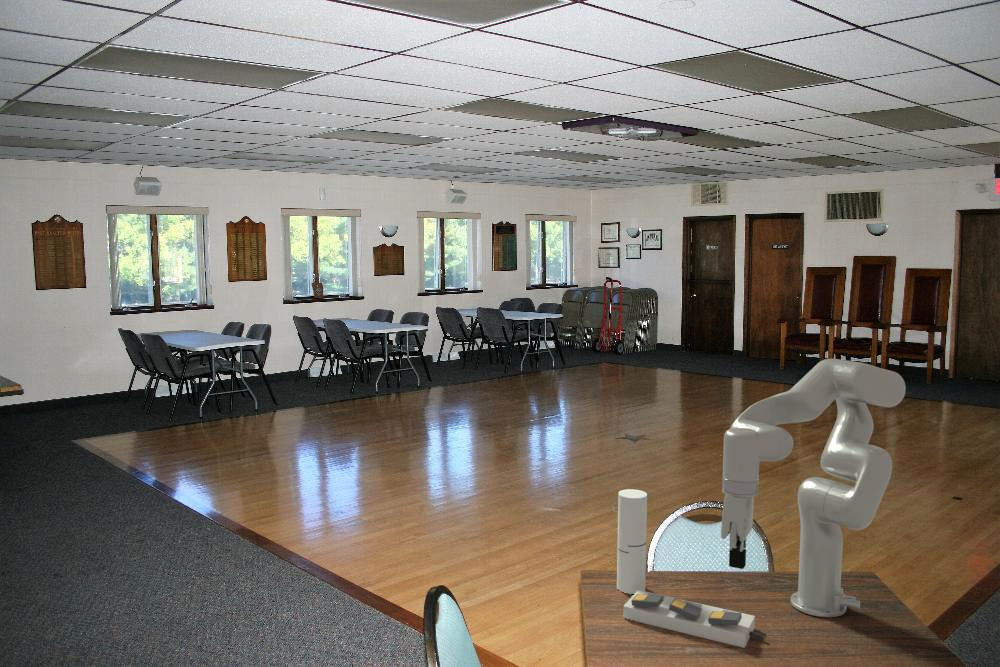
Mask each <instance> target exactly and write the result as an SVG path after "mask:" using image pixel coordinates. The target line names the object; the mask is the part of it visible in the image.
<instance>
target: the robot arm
mask: <svg viewBox="0 0 1000 667" xmlns="http://www.w3.org/2000/svg"><path fill="white" fill-rule="evenodd" d="M905 395H906V383H905V380H904V378H903V377H902V376H901V375H900V374H899V373H898V372H896V371H893V370H889V369H885V368H882V367H878V366H875V365H872V364H868V363H864V362H860V361H859V362H858V361H854V360H853V361H852V360H846V359H839V358H838V359H837V358H827V359H826V358H825V359H822V360H820V361H819V362H817V363H816V365H814V367H812V369H810V370H809V371H808V372H807V373H806V374H805V375H804V376H802V378H801V379H800V380H798V381H797V383H795V384H794V385H793V386H792V388H790V389H789V390H787V391H784V392H781V393H777V394H774V395H772V396H769V397H766V398H764V399H761V400H759V401H757V402H754V404H753V403H752V405H750V406H749V407H747V408H746V409H745V410H744V411H743V412H742V413H741V414H740V415H738V417H737V418H736V419H735V420H734V421H733V422H732V424H731V425H730V428H729V429H726V431H724V433H723V447H722V448H723V453H722V479H721V482H722V484H721V485H722V486H721V492H722V493H724V494H725V495H724V499H723V506H722V515H721V516H722V517H721V529H720V530H721V531H720V537H721V539H722V540H723V539H726V538H727V537H728V536H729V556H728V557H729V558H728V559H729V560H728V561H729V562H728V566H729V567H731V568H735V569H740V570H744V569H745V567H746V563H747V561H746V560H747V539H748V538H747V537H748V536H749V534H751V532H752V529H753V524H754V499H755V498H754V497H757V496H758V495H759V479H760V478H759V477H760V476H759V474H760V463H761V462H778V461H779V462H780V461H783V460H784V459H786V458H787V457H788V456H790V455H791V453H792V451H793V449H794V439H793V435H791V433H790V432H789V431H787V430H786V429H785V428H782V427H779V426H778V425H783V424H797V423H798V424H799V423H804V422H810V421H814V420H815V419H817V418H819V416H820V415H821V414H823V413H824V411H825V410H826V409H828V407H829V406H831V404H832V403H833V402H834V401H835V403H836V407H837V408H836V409H837V415H836V421H835V423H834V425H833V428H832V430H831V431H830V434H829V437H828V439H827V442H826V444H825V445H824V449H823V451H822V452H821V456H820V468H821V469H822V470H823V472H825V473H826V474H828V475H830V476H832V477H835V478H838V479H842V480H845V481H849V482H852V483H855V485H854V486H852V485H850V484H846V483H843V482H840V481H836V480H832V479H828V478H825V477H819V476H813V477H809V478H806V479H805V480H803V481H802V482H801V484H800V485H799V487H798V490H797V504H798V510H799V511H798V512H799V520H800V536H799V537H800V538H799V539H800V540H799V557H798V558H799V559H798V562H799V563H798V564H799V565H798V581H797V582H798V584H797V586H798V587H797V591H795V592H794V593H792V595H791V596H790V604H791V605H792V606H793V607H794V608H795V609H796V610H798V611H800V612H802V613H803V614H808V615H810V616H815V617H818V618H820V617H821V618H835V617H837V618H838V617H840V616H842V615H844V614H845V613H846V612H847V608H848V607H849V608H851V609H856V610H860V608H861V600H857V599H856V598H857V597H856V596H853V595H847V594H846V593H844V588H843V587H841V586H842V582H841V581H842V565H843V564H842V563H843V549H844V548H843V546H844V540H843V539H844V537H843V533H842V529H841V527H844V528H847V529H851V530H855V531H862V530H865V529H866V528H868V527H869V526H870V525H871V523H872V522H873V520H874V518H875V516H876V513H877V512H878V509H879V506H880V504H881V501H882V499H883V497H884V495H885V491H886V489H887V487H888V485H889V482H890V480H891V477H892V472H893V460H892V457H891V455H890V453H889V451H887V450H886V449H884V448H882V447H880V446H877V445H873V444H869V442H870V441H871V437H872V435H873V432H874V428H875V427H874V421H873V417H872V414H871V412H870V410H869V408H868V405H872V406H879V407H882V408H893V407H896V406H898V404H900V403H901V402H902V401H903V399H904V398H905Z"/></svg>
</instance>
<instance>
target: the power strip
mask: <svg viewBox="0 0 1000 667" xmlns="http://www.w3.org/2000/svg"><path fill="white" fill-rule="evenodd" d="M637 594H647V595H660V594H658V593H654V592H650V591H646V590H645V591H641V590H637V591H636V593H635V594H634V595H631V597H630V598H629V599H628V600H627V602H625V603H624V605H623V611H622V612H623V614H622V619H625V618H626V619H625V620H629V619H630V620H629V621H633V620H634V621H633V622H637V623H642V624H646V625H650V626H653V627H658V628H661V629H665V630H670V631H674V632H677V633H681V634H687V635H691V636H693V637H694V636H695V637H699V638H703V639H707V640H709V641H710V640H711V641H715V642H719V643H723V644H726V645H732V646H735V647H740V648H743V649H745V648H746V646H747V644H748V643H749V641H750V638H751V637H753V638H757V639H760V640H764V639H765V634H762V633H759V632H755V631H754V630H755V628H756V625H755V624H756V616H755V615H753V614H748V613H743V612H740V611H735V610H729V609H724V608H721V607H717V606H712V605H707V604H702V603H700V602H694V601H690V600H686V599H681V598H677V597H674V596H673V597H672V596H667V595H664V594H662V595H663V599H664V601H663V602H662V603H661V604H660V606H659V607H647V606H632V602H631V600H632V599H633V598H634V597H635V596H636V595H637ZM675 598H676V599H679V600H681V601H684V602H686V603H689V604H691V605H694V606H696V607H699V608H701V609H702V610H701V614H700V615H699V617H698V618H697V620H693V619H691V618H688V617H686V616H683V615H681V614H678V613H676V612H673V611H671V610H669V606H670V604H671V603H672V601H673V600H674V599H675ZM713 611H718V612H735V613H741V615H742V619H741V621H740V622H739V624H738V626H736V625H721V624H709V622H708V618H709V616H710V615H711V613H712V612H713Z"/></svg>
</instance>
